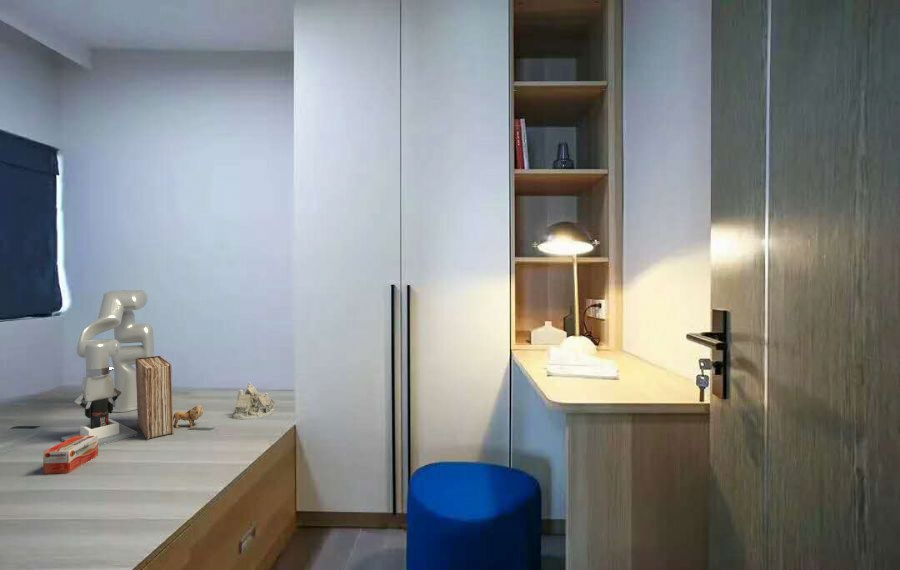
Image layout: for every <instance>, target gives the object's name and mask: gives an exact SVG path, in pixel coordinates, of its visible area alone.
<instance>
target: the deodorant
mask: <svg viewBox="0 0 900 570" xmlns="http://www.w3.org/2000/svg"><path fill="white" fill-rule="evenodd" d="M90 408H91V418H89V419H90V422H89V423H91V429H94V428H98V427H102V426H106V425H109V419H110V418H109V417H110V416H109V414H110V413H108V398H104V399H99V400H94V401H92V403H91V405H90Z"/></svg>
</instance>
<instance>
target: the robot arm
mask: <svg viewBox="0 0 900 570" xmlns="http://www.w3.org/2000/svg"><path fill="white" fill-rule="evenodd" d="M147 302H148V295H147V293H146V292H145V291H144V290H141V289H138V290H137V289H136V290H135V289H133V290H131V289H130V290H129V289H128V290H125V289H124V290H109V291H107V292H105V293H103V297H102V301H101V305H100V309H99V313H98V316H97V319H95V321H93V322H91V323H90V324H89V325H87V326H86V327H85V328H84V329H83V330H82V332H81V333H80V335H79V338H78V342H77V345H76V346H77V347H76V353H77V355H78V357H80V358H82V359H85V376H84V377H83V379H82V385H81V394H80V395H79V396H78V397H77V398H76V399H75V400H74V401H73V402H74V403H75V404H77V405H79V406H81V407H82V408H84V416H85V417H86V418H87V419H90V418H91V408H90V405H91V403H92V401H94V400H99V399H104V398H108V413H109V414H112V413H125V412H126V413H127V412H131V411H136V410H137V386H136V367H134V366H133V365H136V359H138V358H146V357H155V349H154V348H155V347H154V346H155V343H154V342H155V341H154V330H153V327H152V325H151V324H149V323H144V322H143V323H136V321H135V320H136V319H135V316H136V315H135V313H134V311H138V310H141V309H142V308H144V307H145V306H146V305H147ZM111 330H113V338H104V339H103V338H100V339H99V338H98V339H93V338H94V337H96V336H98V335H99V334H102V333H105V332H107V331H111ZM134 343H135V345H121V344H134ZM138 343H141V344H138ZM109 358H110V359H111V362H112V367H111V366H110V359H109ZM112 371H113V376H112V373H111V372H112ZM113 379H114V380H113ZM82 401H85V402H82ZM113 404H114V405H113Z"/></svg>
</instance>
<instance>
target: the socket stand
mask: <svg viewBox="0 0 900 570" xmlns="http://www.w3.org/2000/svg"><path fill="white" fill-rule="evenodd" d="M93 435H98V445H99V446H102V445H101V444H103V445H105V444H104V443H107V444H109V443H108V442H110V443H113V442H112V441H114V442H116V441H115V440H118V441H120V440H119V439H121V440H124V439H123V438H125V439H128V438H127V437H129V438H132V437H136V436H138V435H139V433H138V431H137V430H135V429H132V428H130V427H128V426H126V425H123V424H122V423H119V422H117V421H115V420H113V419H111V418H109V425H106V426H102V427H98V428H94V429H91V423H90V422H89V423H84V424H82V425H79V432H78V433H73V434H69V435H66V436H61V437H60V440H61V441H62V440H63V441H66V440H68V439H70V438H72V437H74V436H93ZM135 435H136V436H135ZM131 436H132V437H131ZM63 441H62V442H63Z"/></svg>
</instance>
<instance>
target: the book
mask: <svg viewBox="0 0 900 570" xmlns="http://www.w3.org/2000/svg"><path fill="white" fill-rule="evenodd" d="M135 369H136V386H137V409H136V410H137V411H136V412H137V425H138V428H140V431H142V434H143V433H144V434H143V435H144V437H145V439H146V440H147V441H149V440H150V439H152V438H157V437H161V436H166V435H174V421H173V416H174V409H173V408H174V407H173V406H174V404H173V401H174V400H173V372H172V370H173V369H172V363H171V362H170V361H168V360H167V359H166V358H163V356H160V355H156V356H155V355H154V357H146V358H138V359H136V364H135Z"/></svg>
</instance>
